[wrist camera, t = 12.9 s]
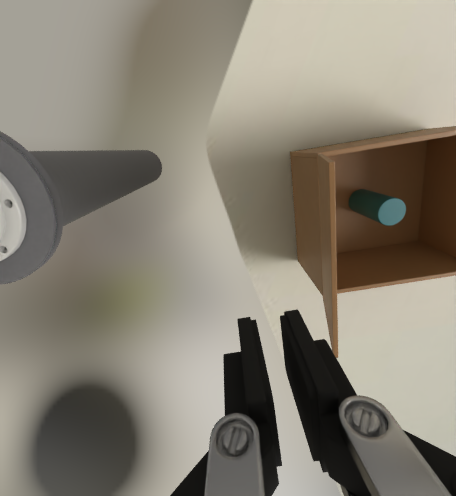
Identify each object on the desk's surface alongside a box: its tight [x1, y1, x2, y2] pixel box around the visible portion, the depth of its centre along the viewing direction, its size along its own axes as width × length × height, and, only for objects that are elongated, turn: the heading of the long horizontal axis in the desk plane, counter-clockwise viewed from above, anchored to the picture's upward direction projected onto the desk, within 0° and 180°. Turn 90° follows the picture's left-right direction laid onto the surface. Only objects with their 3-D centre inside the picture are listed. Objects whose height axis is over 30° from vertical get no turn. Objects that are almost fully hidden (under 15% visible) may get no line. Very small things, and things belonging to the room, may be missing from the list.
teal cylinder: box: [349, 189, 406, 226], centre depth 27 cm, size 3×3×6 cm
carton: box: [290, 126, 456, 295], centre depth 27 cm, size 15×13×8 cm
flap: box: [318, 154, 338, 358], centre depth 19 cm, size 7×13×1 cm
